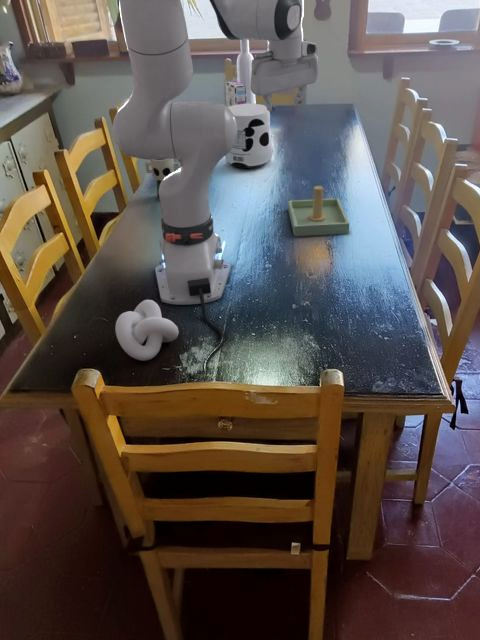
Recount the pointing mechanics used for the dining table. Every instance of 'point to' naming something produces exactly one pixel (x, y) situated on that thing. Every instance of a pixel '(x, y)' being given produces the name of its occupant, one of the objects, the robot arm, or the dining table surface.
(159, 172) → the character mug
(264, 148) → the milk container
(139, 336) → the white trefoil knot
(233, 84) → the candy bar box
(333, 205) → the tray
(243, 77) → the bottle
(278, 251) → the dining table surface
